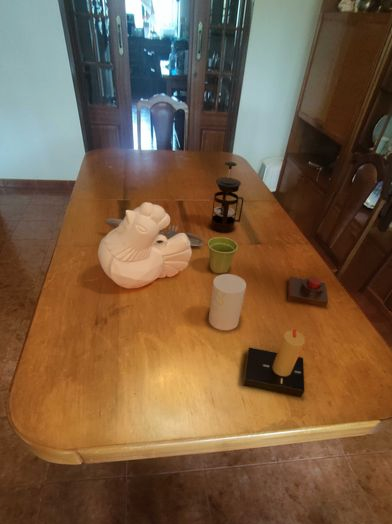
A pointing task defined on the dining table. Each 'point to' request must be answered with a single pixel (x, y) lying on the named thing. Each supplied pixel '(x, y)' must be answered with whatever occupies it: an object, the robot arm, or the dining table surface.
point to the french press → (226, 204)
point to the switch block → (306, 292)
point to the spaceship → (192, 238)
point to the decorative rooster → (143, 248)
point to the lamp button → (314, 282)
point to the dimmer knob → (288, 353)
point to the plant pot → (221, 253)
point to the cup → (226, 301)
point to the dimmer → (272, 374)
